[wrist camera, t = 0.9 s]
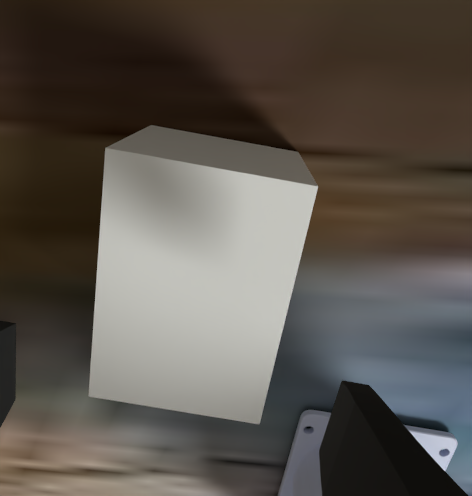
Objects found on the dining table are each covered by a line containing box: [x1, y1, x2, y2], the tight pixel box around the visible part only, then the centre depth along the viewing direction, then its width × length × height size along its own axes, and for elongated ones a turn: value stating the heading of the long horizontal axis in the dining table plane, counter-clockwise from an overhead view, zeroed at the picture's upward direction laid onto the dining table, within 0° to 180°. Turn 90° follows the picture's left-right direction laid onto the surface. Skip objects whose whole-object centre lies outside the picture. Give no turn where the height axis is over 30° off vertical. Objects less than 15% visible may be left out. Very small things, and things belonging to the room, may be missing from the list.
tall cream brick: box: [89, 125, 318, 424], centre depth 17 cm, size 9×6×6 cm
